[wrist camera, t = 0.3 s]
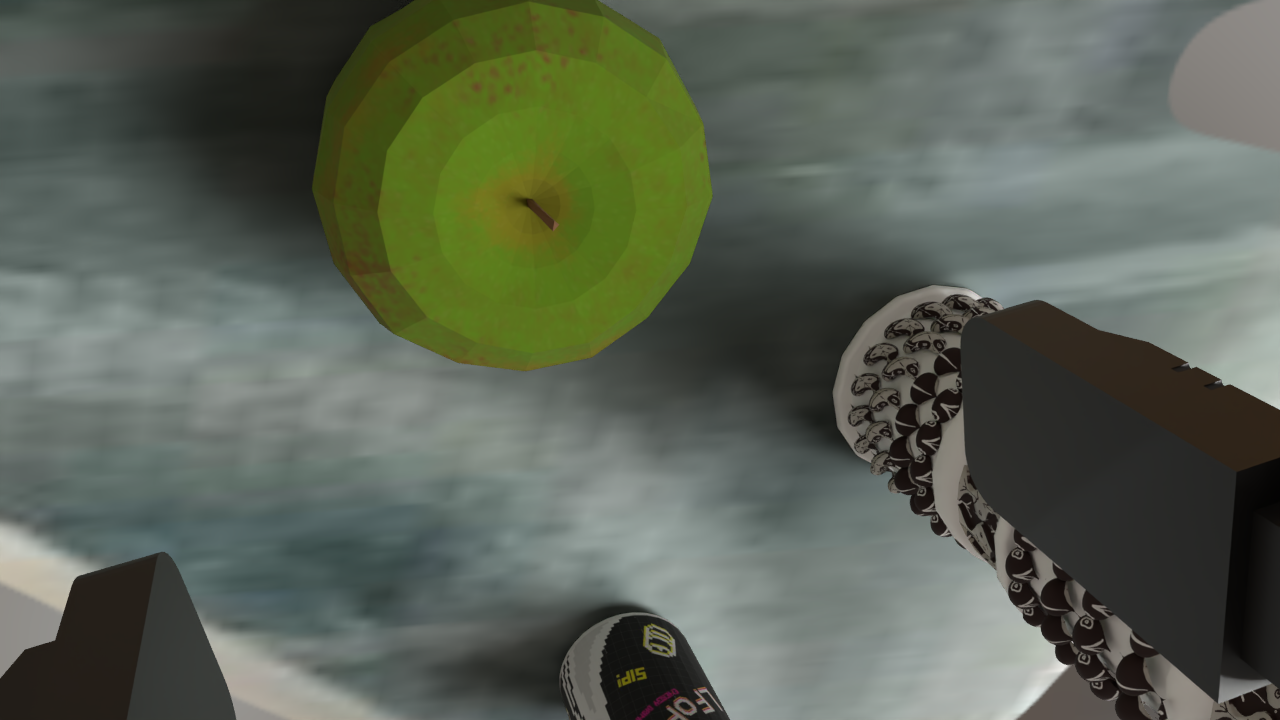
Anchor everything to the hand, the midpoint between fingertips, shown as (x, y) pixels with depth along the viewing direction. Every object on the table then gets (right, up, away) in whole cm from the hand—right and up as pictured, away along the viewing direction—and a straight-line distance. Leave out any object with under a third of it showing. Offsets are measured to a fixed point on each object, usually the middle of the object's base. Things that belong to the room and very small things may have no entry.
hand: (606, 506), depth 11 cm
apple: (-5, +9, +27) cm, 29 cm away
